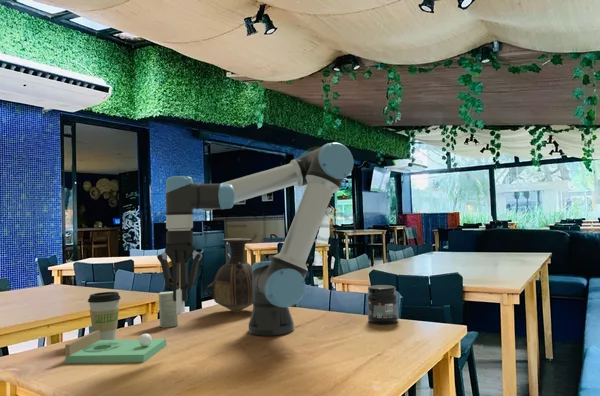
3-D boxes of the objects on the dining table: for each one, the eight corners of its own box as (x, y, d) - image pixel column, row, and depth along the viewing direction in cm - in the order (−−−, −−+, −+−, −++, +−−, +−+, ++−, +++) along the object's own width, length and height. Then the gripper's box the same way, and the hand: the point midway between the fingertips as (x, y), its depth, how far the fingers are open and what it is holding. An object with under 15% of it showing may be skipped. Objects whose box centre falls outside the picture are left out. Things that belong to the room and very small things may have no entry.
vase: (202, 317, 174) (200, 240, 176) (219, 307, 194) (217, 238, 195) (259, 317, 171) (257, 238, 172) (271, 307, 190) (268, 236, 191)
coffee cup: (109, 345, 139) (108, 296, 140) (81, 344, 141) (80, 296, 142) (127, 336, 149) (126, 291, 150) (101, 336, 151) (100, 291, 152)
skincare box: (178, 323, 166) (177, 290, 166) (177, 326, 161) (176, 292, 162) (160, 325, 164) (159, 291, 165) (159, 328, 160) (158, 293, 161)
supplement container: (376, 317, 164) (374, 284, 165) (403, 319, 158) (401, 285, 159) (362, 323, 156) (361, 288, 156) (390, 326, 150) (388, 290, 150)
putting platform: (166, 345, 136) (165, 328, 137) (143, 362, 120) (143, 343, 121) (96, 346, 138) (96, 330, 138) (65, 363, 122) (65, 344, 122)
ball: (154, 344, 130) (153, 332, 130) (148, 348, 127) (148, 335, 127) (142, 344, 131) (141, 332, 131) (136, 348, 127) (136, 335, 127)
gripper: (205, 229, 133) (206, 309, 131) (162, 230, 134) (163, 310, 132) (197, 229, 125) (198, 315, 124) (152, 230, 126) (153, 315, 125)
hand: (180, 312), depth 128 cm, fingers closed
